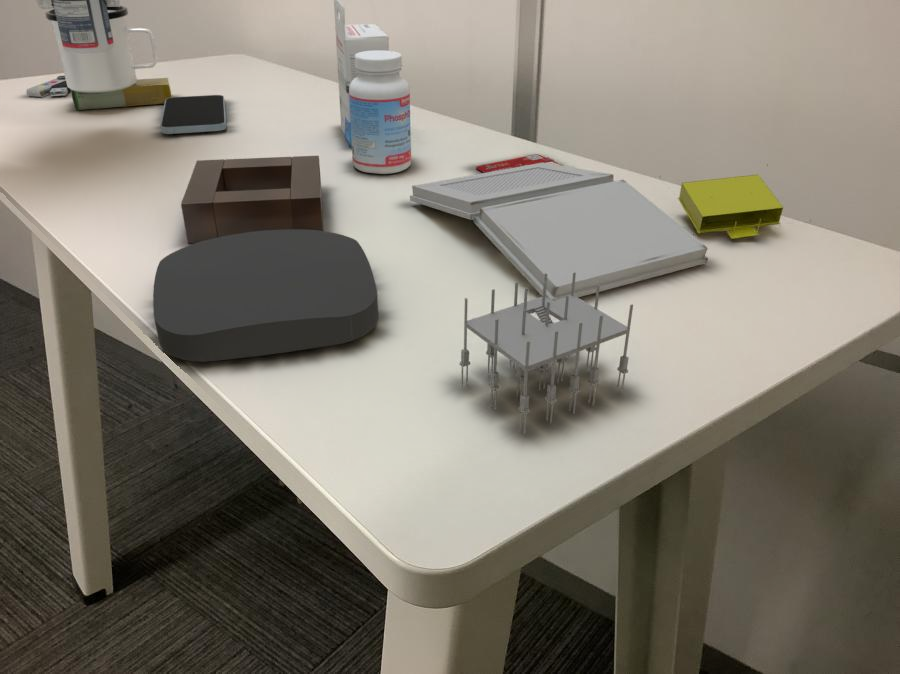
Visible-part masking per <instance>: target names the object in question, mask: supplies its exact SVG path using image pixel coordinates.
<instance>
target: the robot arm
mask: <svg viewBox="0 0 900 674" xmlns="http://www.w3.org/2000/svg"><path fill="white" fill-rule="evenodd" d="M120 1H121V0H105V4H106V7H115V6H116V7H120V5H121V2H120ZM36 3H37V6H38V8H39V10H45V9H48V10H51V9H54V5H53V1H52V0H36Z"/></svg>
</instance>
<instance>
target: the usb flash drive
mask: <svg viewBox="0 0 900 674" xmlns="http://www.w3.org/2000/svg"><path fill="white" fill-rule="evenodd" d="M25 92H26V96H28V97H36V98H44V97H46V96H49V95H50V97H59V96H60V97H61V96H67V95H68V94H69V93H70V92H71V89H70V88H68V87H67V83H66V78H65V75H58V76H57V77H55V78H53V79H50V80H48V81H45V82H42V83H40V84H37V85H35V86H31V87H29V88H27V89H26V91H25Z"/></svg>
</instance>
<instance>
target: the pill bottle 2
mask: <svg viewBox="0 0 900 674" xmlns="http://www.w3.org/2000/svg"><path fill="white" fill-rule="evenodd" d="M402 56H403V55H402V54H401V53H400V52H397V51H393V50H389V51H384V50H373V51H364V52H359V53H357V54H355V68H356V71H357V72H358V77H356V78H355V79H353V80H352V82H351V83H350V86H349V102H350V122H351V141H352V147H351V158H352V159H351V160H352V164H353V167H354V168H355V169H357V170H358V171H360V172H364V173H367V174H379V175H388V174H389V175H391V174H396V173H400V172H402V171H405V170H406V169H408V168H409V167H410V166H411V163H412V139H411V138H412V137H411V135H412V134H411V129H412V128H411V91H410V85H409V83H408V81H407V80H406V79H405V77H402V76H401V75H400V72H401V71H402V67H403V60H402V58H403V57H402Z"/></svg>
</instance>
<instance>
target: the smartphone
mask: <svg viewBox="0 0 900 674" xmlns="http://www.w3.org/2000/svg"><path fill="white" fill-rule="evenodd" d="M159 126H160V131H161V133H163V134H164V135H173V134H190V133H192V134H193V133H205V132H208V133H209V132H219V131H225V130H226V129H227V114H226V102H225V96H224V95H222V94H208V95H207V94H206V95H188V96H172V97H171V98H167V99H166V100H165V103H164V105H163V110H162V115H161V120H160V125H159Z"/></svg>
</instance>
